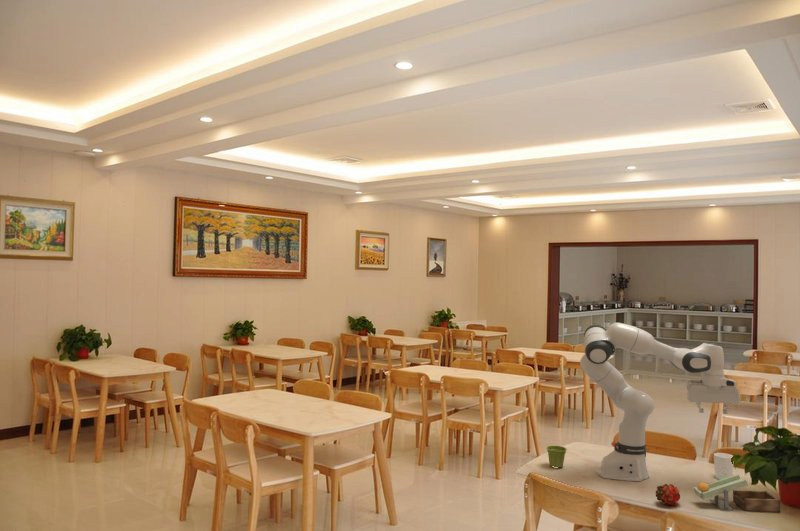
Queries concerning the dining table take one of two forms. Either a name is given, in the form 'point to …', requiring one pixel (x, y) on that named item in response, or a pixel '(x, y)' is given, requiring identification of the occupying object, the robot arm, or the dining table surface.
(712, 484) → the lever
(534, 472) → the dining table surface
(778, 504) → the tray
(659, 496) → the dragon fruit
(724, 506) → the fulcrum
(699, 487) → the ball
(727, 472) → the white cup
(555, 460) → the plant pot
